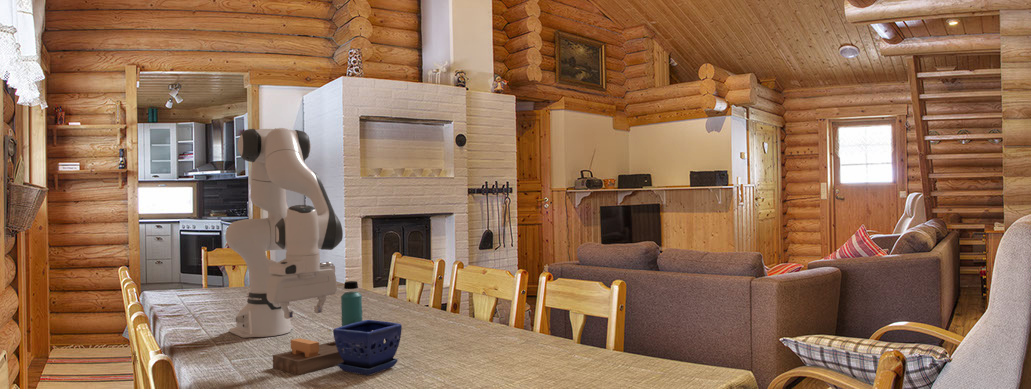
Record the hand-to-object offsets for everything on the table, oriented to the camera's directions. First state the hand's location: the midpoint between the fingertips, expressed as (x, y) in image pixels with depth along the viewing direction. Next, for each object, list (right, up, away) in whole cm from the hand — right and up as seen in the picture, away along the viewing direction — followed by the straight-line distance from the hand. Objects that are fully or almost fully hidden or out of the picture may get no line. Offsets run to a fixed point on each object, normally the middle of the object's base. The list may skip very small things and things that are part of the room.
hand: (303, 315), depth 186 cm
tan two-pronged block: (0, -14, 0) cm, 14 cm away
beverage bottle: (+8, -14, +23) cm, 28 cm away
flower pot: (+19, -14, -4) cm, 24 cm away
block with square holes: (+4, -14, +5) cm, 15 cm away
